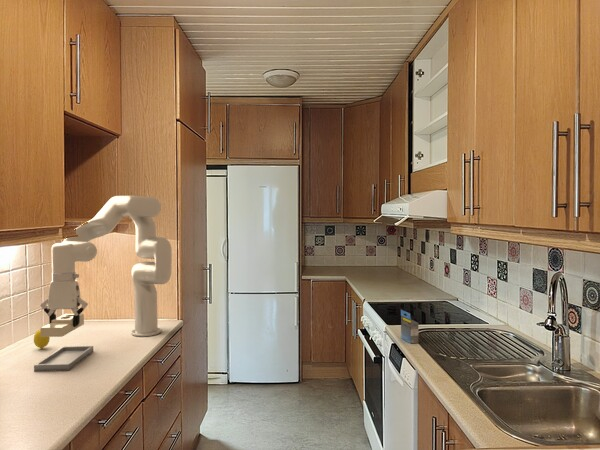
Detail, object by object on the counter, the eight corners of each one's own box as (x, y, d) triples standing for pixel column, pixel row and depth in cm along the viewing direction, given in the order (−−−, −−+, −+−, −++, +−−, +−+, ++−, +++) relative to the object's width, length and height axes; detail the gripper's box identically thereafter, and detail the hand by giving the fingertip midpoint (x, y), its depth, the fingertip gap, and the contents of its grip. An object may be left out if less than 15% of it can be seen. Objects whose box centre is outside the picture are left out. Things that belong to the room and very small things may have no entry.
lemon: (50, 346, 200) (50, 326, 200) (48, 350, 195) (48, 329, 195) (35, 347, 198) (34, 327, 198) (32, 351, 193) (32, 331, 193)
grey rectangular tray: (62, 352, 192) (62, 346, 192) (93, 351, 192) (93, 345, 192) (34, 371, 169) (33, 365, 169) (68, 370, 170) (68, 364, 170)
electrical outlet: (40, 325, 170) (64, 313, 188) (40, 336, 170) (65, 324, 188) (61, 324, 170) (84, 313, 188) (62, 336, 171) (84, 324, 189)
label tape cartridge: (419, 343, 201) (419, 313, 201) (410, 344, 200) (410, 313, 200) (408, 337, 210) (408, 308, 210) (400, 338, 209) (400, 309, 209)
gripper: (92, 275, 184) (93, 323, 184) (43, 276, 183) (44, 324, 184) (84, 278, 176) (85, 328, 177) (33, 279, 176) (34, 329, 176)
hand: (64, 325), depth 180 cm, fingers closed on electrical outlet, 7 cm apart
